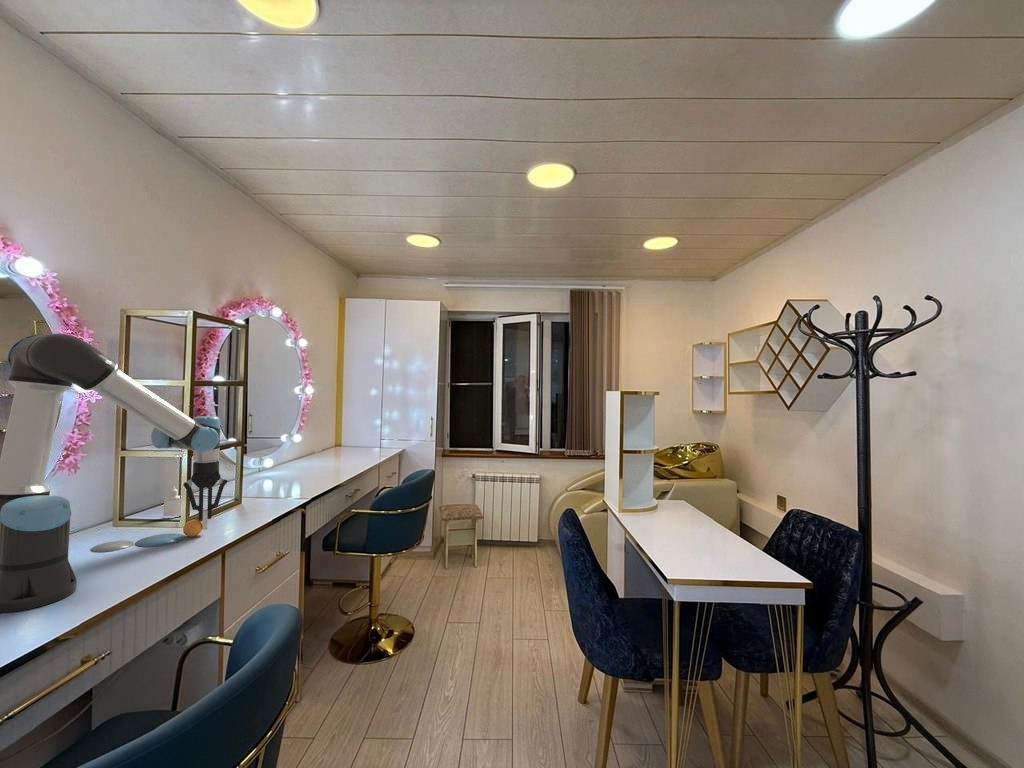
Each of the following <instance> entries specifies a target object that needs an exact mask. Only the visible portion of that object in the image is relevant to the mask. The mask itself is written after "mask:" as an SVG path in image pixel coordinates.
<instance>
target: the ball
mask: <svg viewBox="0 0 1024 768" xmlns="http://www.w3.org/2000/svg"><path fill="white" fill-rule="evenodd" d="M202 524H203V522H201V520H199V519H198V520H197V519H192V520H189V521H187V522H186V523H185V524H184V525H183V528H182V532H183V535H185V537H186V536H187V537H189V538H190V537H192V538H193V537H196V536H198V535H199V534H201V532H202V531H203V530H202Z"/></svg>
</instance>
